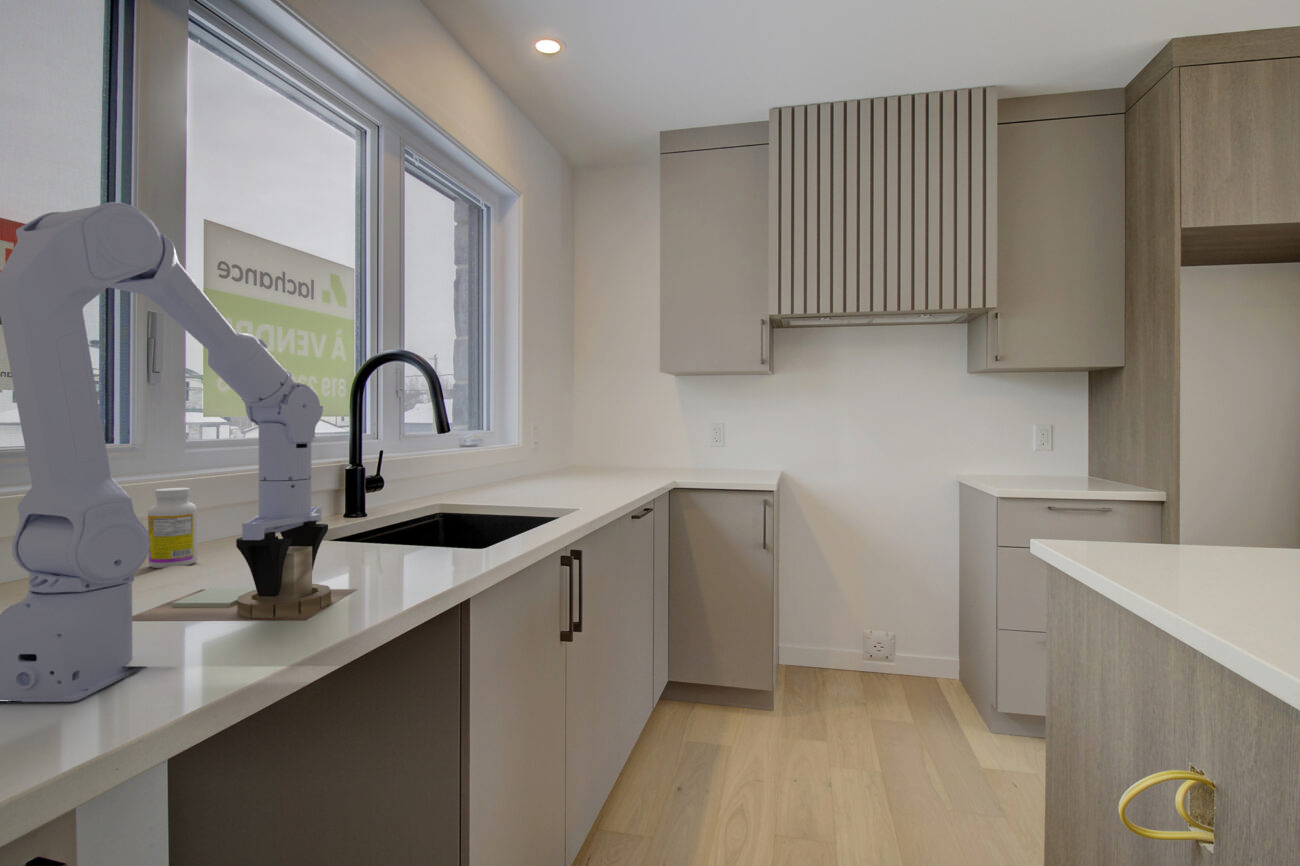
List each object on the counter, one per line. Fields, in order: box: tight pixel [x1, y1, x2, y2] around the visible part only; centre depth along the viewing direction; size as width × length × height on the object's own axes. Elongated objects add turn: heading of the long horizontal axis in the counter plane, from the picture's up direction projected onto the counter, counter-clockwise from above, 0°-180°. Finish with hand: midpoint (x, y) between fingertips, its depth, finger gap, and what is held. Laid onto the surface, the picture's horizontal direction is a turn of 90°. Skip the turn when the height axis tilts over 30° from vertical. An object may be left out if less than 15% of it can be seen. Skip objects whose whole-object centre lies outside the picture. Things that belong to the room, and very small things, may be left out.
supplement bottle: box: [147, 487, 198, 569], centre depth 108 cm, size 7×7×13 cm
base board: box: [132, 583, 358, 622], centre depth 81 cm, size 14×21×3 cm, turn 92°
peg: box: [257, 546, 313, 602], centre depth 80 cm, size 4×4×7 cm
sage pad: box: [172, 587, 256, 607], centre depth 83 cm, size 7×7×1 cm
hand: (285, 588), depth 80 cm, fingers open, 7 cm apart
